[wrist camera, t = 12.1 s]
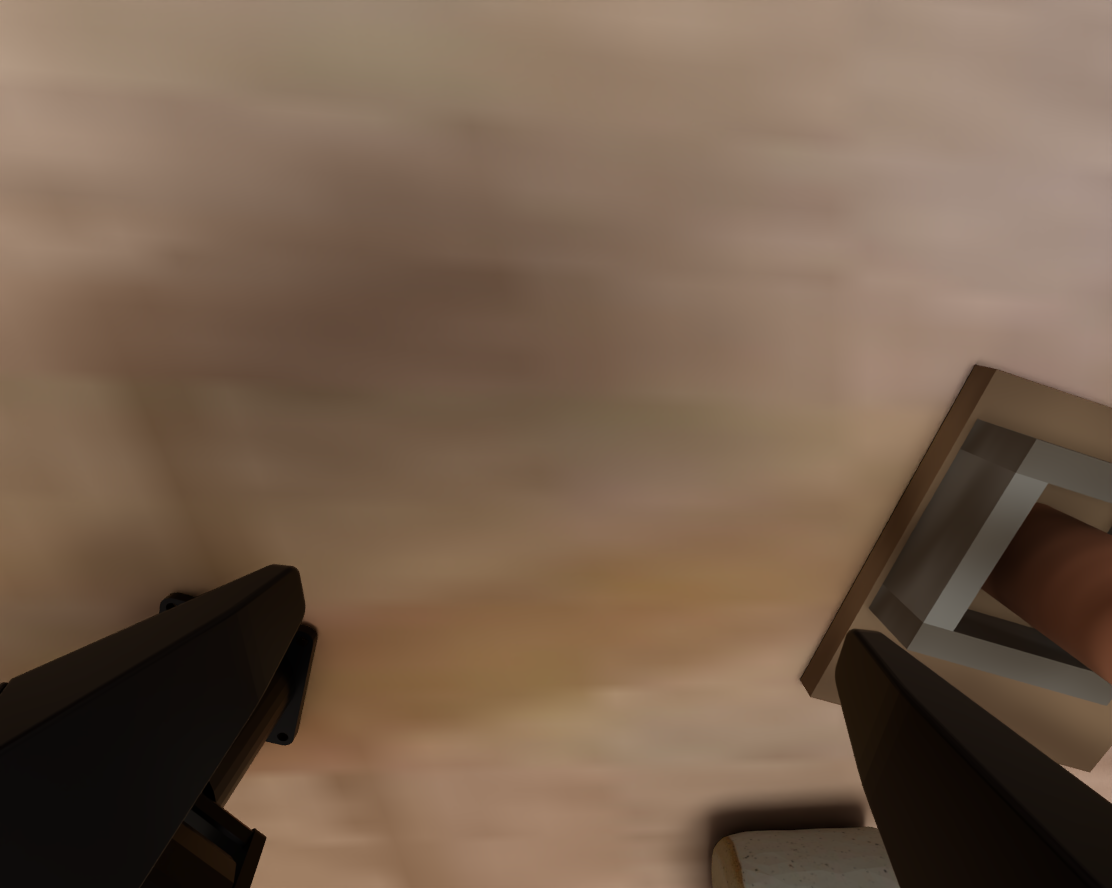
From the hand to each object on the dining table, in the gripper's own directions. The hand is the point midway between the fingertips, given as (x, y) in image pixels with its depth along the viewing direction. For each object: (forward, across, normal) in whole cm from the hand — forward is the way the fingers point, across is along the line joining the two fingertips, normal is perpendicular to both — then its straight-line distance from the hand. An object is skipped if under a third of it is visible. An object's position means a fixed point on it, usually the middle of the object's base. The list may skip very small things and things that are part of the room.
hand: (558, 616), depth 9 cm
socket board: (+14, -19, +7) cm, 24 cm away
